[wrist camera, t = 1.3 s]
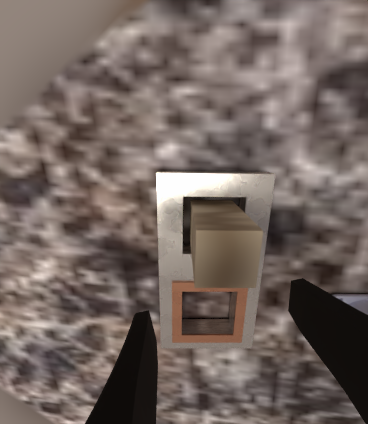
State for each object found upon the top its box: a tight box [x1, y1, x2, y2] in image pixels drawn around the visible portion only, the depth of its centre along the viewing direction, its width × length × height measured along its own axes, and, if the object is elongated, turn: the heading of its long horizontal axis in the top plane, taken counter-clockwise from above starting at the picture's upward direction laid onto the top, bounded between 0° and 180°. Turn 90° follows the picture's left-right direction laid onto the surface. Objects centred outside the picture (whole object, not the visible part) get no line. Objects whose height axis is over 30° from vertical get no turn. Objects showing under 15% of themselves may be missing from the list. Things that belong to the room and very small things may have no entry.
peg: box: [190, 200, 263, 288], centre depth 17 cm, size 4×4×8 cm
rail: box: [156, 171, 276, 348], centre depth 21 cm, size 10×19×2 cm, turn 179°
